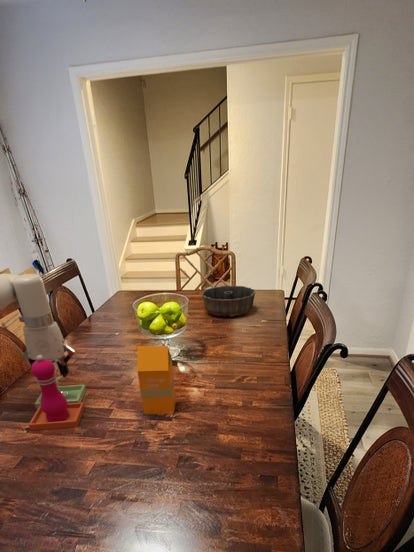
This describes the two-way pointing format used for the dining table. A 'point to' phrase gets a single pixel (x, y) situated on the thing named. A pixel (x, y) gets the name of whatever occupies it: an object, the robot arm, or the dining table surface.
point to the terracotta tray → (73, 420)
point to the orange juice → (156, 379)
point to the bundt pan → (228, 300)
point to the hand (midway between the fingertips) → (55, 375)
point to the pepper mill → (49, 390)
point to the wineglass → (58, 373)
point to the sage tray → (73, 394)
